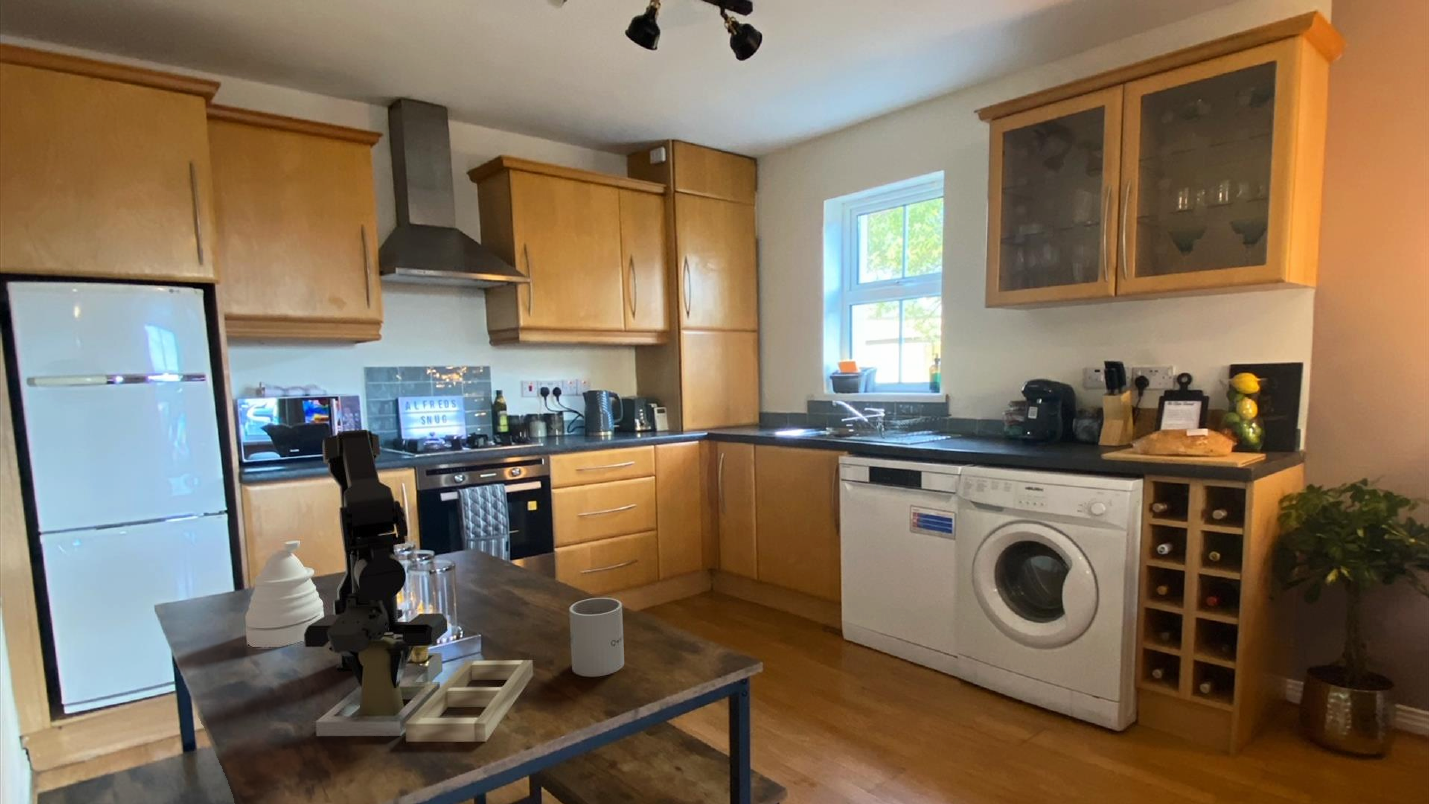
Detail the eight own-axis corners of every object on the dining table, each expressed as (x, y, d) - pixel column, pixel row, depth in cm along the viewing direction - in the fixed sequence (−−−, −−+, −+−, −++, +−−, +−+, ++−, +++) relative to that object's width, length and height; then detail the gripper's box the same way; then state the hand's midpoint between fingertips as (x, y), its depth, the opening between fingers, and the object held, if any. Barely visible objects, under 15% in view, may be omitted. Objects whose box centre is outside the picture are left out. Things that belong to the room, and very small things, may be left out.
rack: (406, 741, 94) (405, 723, 94) (467, 675, 114) (466, 660, 114) (485, 741, 93) (485, 723, 93) (533, 675, 113) (532, 660, 113)
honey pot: (330, 619, 143) (325, 532, 142) (316, 642, 131) (310, 547, 130) (258, 628, 139) (252, 539, 138) (237, 653, 127) (230, 555, 126)
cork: (386, 726, 98) (382, 649, 98) (349, 723, 99) (344, 647, 99) (413, 705, 104) (409, 633, 104) (377, 702, 105) (373, 631, 105)
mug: (606, 679, 111) (604, 618, 110) (561, 672, 114) (558, 612, 114) (643, 649, 122) (641, 593, 122) (601, 643, 125) (599, 589, 125)
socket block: (316, 735, 96) (315, 714, 96) (393, 671, 117) (392, 653, 116) (400, 735, 96) (399, 714, 95) (463, 670, 116) (462, 652, 116)
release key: (400, 680, 112) (398, 642, 111) (414, 668, 116) (412, 631, 116) (427, 680, 111) (425, 642, 111) (439, 668, 116) (437, 631, 116)
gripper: (274, 601, 93) (281, 715, 94) (409, 599, 92) (415, 714, 93) (325, 576, 104) (331, 678, 105) (446, 574, 103) (451, 677, 104)
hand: (380, 687), depth 102 cm, fingers closed on cork, 4 cm apart
